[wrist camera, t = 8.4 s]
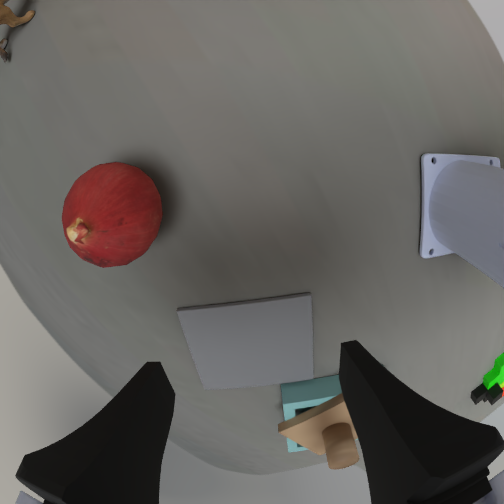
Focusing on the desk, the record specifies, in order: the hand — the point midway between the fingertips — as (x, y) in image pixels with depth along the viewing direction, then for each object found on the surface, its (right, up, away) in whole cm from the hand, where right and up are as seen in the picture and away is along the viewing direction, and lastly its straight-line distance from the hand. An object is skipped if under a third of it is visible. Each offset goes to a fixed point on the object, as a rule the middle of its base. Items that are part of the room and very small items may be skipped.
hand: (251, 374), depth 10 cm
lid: (+8, -12, +13) cm, 19 cm away
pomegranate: (-8, +8, +8) cm, 14 cm away
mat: (0, -3, +12) cm, 12 cm away
